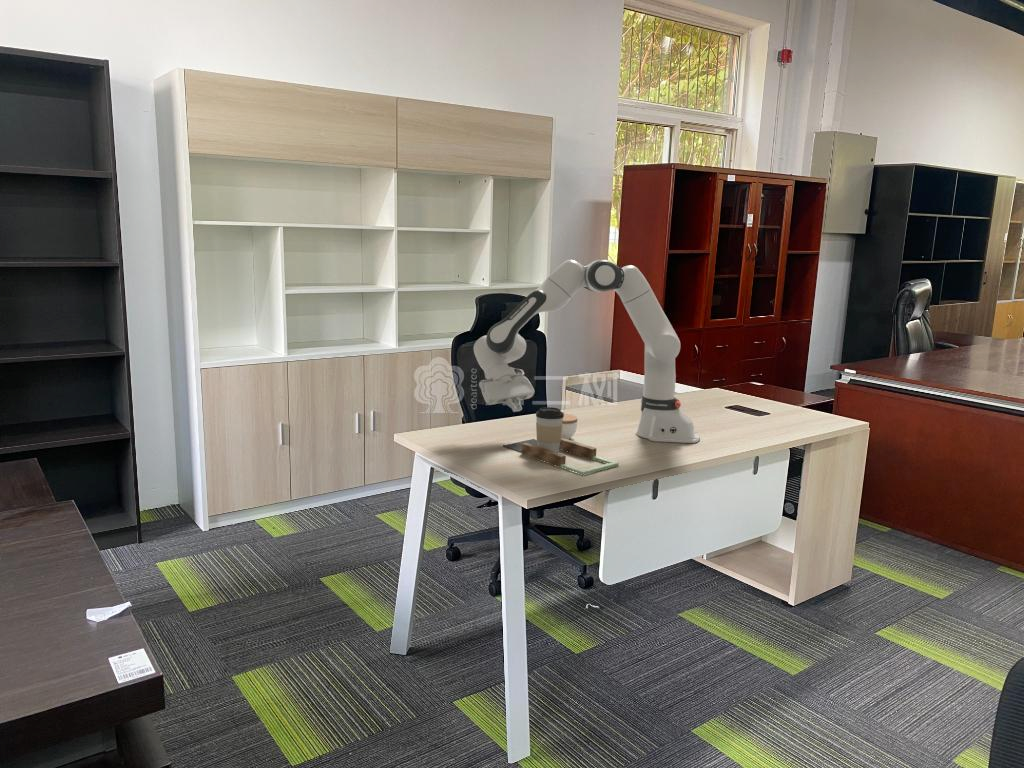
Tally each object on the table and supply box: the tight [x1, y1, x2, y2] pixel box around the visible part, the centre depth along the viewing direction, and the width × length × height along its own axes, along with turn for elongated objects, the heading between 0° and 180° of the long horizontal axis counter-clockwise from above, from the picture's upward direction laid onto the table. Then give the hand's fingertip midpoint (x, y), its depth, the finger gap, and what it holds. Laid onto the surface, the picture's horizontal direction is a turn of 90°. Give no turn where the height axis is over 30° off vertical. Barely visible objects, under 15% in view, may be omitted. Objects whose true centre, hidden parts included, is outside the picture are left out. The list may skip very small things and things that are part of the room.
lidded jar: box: [561, 411, 578, 440], centre depth 263 cm, size 11×11×9 cm
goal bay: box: [561, 455, 619, 476], centre depth 232 cm, size 10×16×1 cm, turn 131°
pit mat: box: [502, 438, 538, 453], centre depth 253 cm, size 9×14×1 cm, turn 131°
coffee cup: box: [535, 406, 564, 454], centre depth 245 cm, size 9×9×15 cm
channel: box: [521, 437, 597, 468], centre depth 242 cm, size 18×16×4 cm
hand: (518, 410), depth 255 cm, fingers closed
